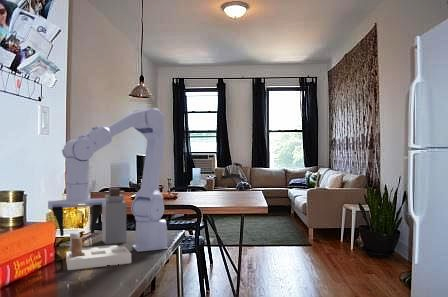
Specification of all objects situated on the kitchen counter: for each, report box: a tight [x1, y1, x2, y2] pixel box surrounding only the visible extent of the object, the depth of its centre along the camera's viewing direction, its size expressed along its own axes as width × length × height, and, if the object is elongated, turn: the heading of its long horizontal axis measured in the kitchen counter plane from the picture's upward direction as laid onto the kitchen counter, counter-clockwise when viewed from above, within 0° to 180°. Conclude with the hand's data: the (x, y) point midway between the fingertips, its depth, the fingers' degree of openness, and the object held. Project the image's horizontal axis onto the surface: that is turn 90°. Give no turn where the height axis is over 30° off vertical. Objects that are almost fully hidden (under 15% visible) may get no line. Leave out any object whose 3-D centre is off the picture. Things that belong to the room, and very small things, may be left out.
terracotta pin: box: [71, 236, 83, 257], centre depth 103 cm, size 3×3×7 cm
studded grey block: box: [68, 232, 120, 251], centre depth 114 cm, size 14×6×6 cm, turn 115°
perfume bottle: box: [101, 187, 127, 245], centre depth 132 cm, size 7×7×18 cm
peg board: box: [65, 245, 132, 271], centre depth 105 cm, size 16×10×2 cm, turn 115°
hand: (77, 234), depth 103 cm, fingers open, 7 cm apart
